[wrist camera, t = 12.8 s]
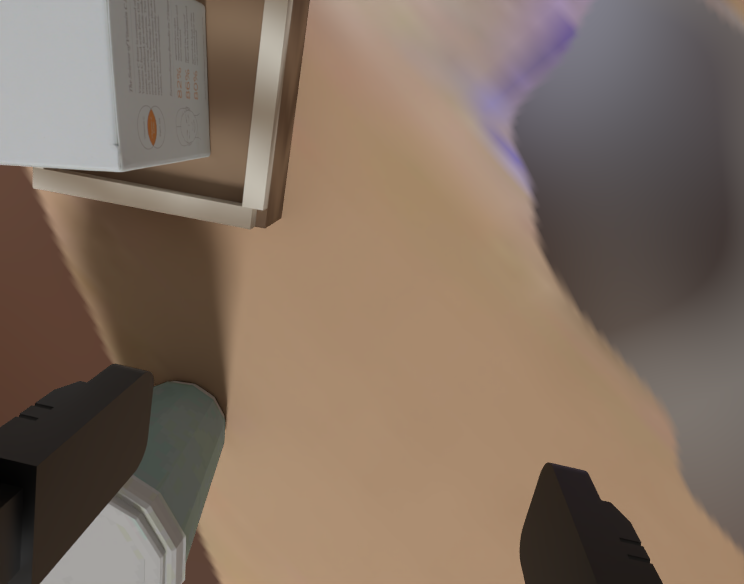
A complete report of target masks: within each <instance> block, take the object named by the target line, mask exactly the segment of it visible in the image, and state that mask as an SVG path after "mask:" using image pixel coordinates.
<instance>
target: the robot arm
mask: <svg viewBox="0 0 744 584" xmlns="http://www.w3.org/2000/svg"><path fill="white" fill-rule="evenodd" d="M153 386H154V378H153V374H152V373H151V372H150V371H145V370H141V369H136V368H132V367H127V366H123V365H119V364H112V365H110V366H109V367H107V368H106V369H105V370H103V371H102V372H101V373H99V374H98V375H97V376H95V377H94V378H93V379H91V380H90V381H89V382H87V383H86V382H82V381H79V382H76V383H73V384H70V385H67V386H64V387H61V388H59V389H55V390H53V391H52V392H50V393H49V394H48V395H46V396H45V397H43V398H42V399H40V400H39V401H38V402H36V403H35V406H30V407H29V408H27V409H26V410H25V411H23V412H22V413H20V415H19V417H15V418H13V419H12V420H10V421H9V422H7V423H6V424H5V425H3V426H2V427H0V584H40V583H41V582H42V581H43V580H44V578H45V577H46V576H47V575H48V574H49V573H50V571H51V570H52V569H53V568H54V567H55V566H56V564H57V563H58V562H59V561H60V560H61V558H62V557H63V556H64V555H65V554H66V553H67V551H68V550H69V549H70V548H71V547H72V546H73V544H74V543H75V542H76V541H77V540H78V538H79V537H80V536H81V535H82V534H83V533H84V531H85V530H86V529H87V528H88V527H89V526H90V524H91V523H92V522H93V521H94V520H95V518H96V517H97V516H98V515H99V514H100V513H101V511H102V510H103V509H104V508H105V507H106V506H107V504H108V503H109V502H110V501H111V500H112V498H113V497H114V496H115V495H116V494H117V493H118V491H119V490H120V489H121V488H122V487H123V486H124V484H125V483H126V482H127V481H128V480H129V478H130V477H131V476H132V475H133V474H134V473H135V471H136V470H137V468H138V467H139V465H140V463H141V461H142V459H143V456H144V453H145V450H146V446H147V441H148V433H149V424H150V414H151V405H152V396H153ZM520 562H521V567H522V571H523V575H524V580H525V584H663V583H662V581H661V579H660V577H659V575H658V573H657V572H656V570H655V568H654V566H653V564H650V558H649V556H648V555H647V553H646V551H645V549H644V547H643V546H641V541H640V539H639V538H638V536H637V534H636V532H635V530H634V528H633V526H632V524H631V522H630V521H629V520H628V519H627V518H626V517H625V516H624V515H623V514H622V513H621V512H620V511H619V510H618V509H617V508H616V507H615V506H614V505H613V504H612V503H611V502H606V501H602V500H601V499H600V497H599V495H598V493H597V491H596V489H595V487H594V485H593V482H592V480H591V478H590V476H589V474H588V473H587V472H586V471H584V470H580V469H576V468H571V467H567V466H562V465H558V464H553V463H546V464H545V465H544V467H543V468H542V471H541V473H540V476H539V479H538V482H537V485H536V489H535V492H534V495H533V498H532V501H531V504H530V507H529V510H528V513H527V516H526V519H525V522H524V526H523V529H522V533H521V540H520Z"/></svg>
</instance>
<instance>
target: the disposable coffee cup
mask: <svg viewBox="0 0 744 584" xmlns="http://www.w3.org/2000/svg"><path fill="white" fill-rule="evenodd" d="M224 437H225V419H224V414H223V412H222V410H221V408H220V406H219V405H218V403H217V401H216V399H215V397H214V396H212V395H211V394H209V393H208V392H206V391H205V390H204V389H202V388H201V387H199V386H198V385H196V384H192V383H186V382H179V381H171V382H165V383H163V384H160V385H157V386H155V387H153V396H152V405H151V414H150V424H149V433H148V441H147V446H146V450H145V453H144V456H143V459H142V461H141V463H140V465H139V467H138V468H137V470H136V471H135V473H134V474H133V475H132V476H131V477H130V478H129V480H128V481H127V482H126V483H125V484H124V486H123V487H122V488H121V489H120V490H119V491H118V493H117V494H116V495H115V496H114V497H113V498H112V500H111V501H110V502H109V503H108V504H107V506H106V507H105V508H104V509H103V510H102V511H101V513H100V514H99V515H98V516H97V517H96V518H95V520H94V521H93V522H92V523H91V524H90V526H89V527H88V528H87V529H86V530H85V531H84V533H83V534H82V535H81V536H80V537H79V538H78V540H77V541H76V542H75V543H74V544H73V546H72V547H71V548H70V549H69V550H68V551H67V553H66V554H65V555H64V556H63V557H62V558H61V560H60V561H59V562H58V563H57V564H56V566H55V567H54V568H53V569H52V570H51V571H50V573H49V574H48V575H47V576H46V577H45V578H44V580H43V581H42V582H41V583H40V584H182V582H183V581H184V580H185V563H186V560H187V557H188V554H189V551H190V548H191V545H192V541H193V538H194V535H195V532H196V529H197V526H198V523H199V520H200V517H201V513H202V510H203V507H204V504H205V501H206V498H207V495H208V492H209V488H210V485H211V482H212V479H213V476H214V473H215V470H216V467H217V464H218V460H219V457H220V454H221V451H222V448H223V445H224Z"/></svg>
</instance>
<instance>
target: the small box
mask: <svg viewBox="0 0 744 584" xmlns="http://www.w3.org/2000/svg"><path fill="white" fill-rule="evenodd" d="M209 156H210V137H209V108H208V79H207V52H206V23H205V6H204V5H203V4H202V3H200V2H198V1H196V0H0V165H14V166H28V167H43V168H58V169H74V170H89V171H108V172H125V171H130V170H136V169H142V168H147V167H153V166H159V165H165V164H171V163H177V162H182V161H187V160H193V159H199V158H204V157H209Z"/></svg>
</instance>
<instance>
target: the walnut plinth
mask: <svg viewBox="0 0 744 584" xmlns="http://www.w3.org/2000/svg"><path fill="white" fill-rule="evenodd" d="M196 1H198V2H200V3H202V4H203V5H204V6H205V23H206V52H207V79H208V108H209V137H210V156H209V157H204V158H199V159H193V160H187V161H182V162H177V163H171V164H165V165H159V166H153V167H147V168H142V169H136V170H130V171H125V172H108V171H89V170H74V169H58V168H43V167H33V188H35V189H41V190H46V191H51V192H56V193H62V194H67V195H72V196H77V197H83V198H88V199H93V200H98V201H104V202H109V203H114V204H119V205H125V206H130V207H135V208H140V209H146V210H151V211H156V212H161V213H167V214H172V215H177V216H182V217H188V218H193V219H198V220H203V221H209V222H214V223H219V224H224V225H230V226H235V227H240V228H245V229H252V228H253V227H260V228H266V227H268V226H270V225H271V224H273V223H274V222H276V221H277V220H279V219H281V216H282V208H283V201H284V193H285V185H286V178H287V170H288V162H289V155H290V147H291V140H292V132H293V124H294V117H295V109H296V101H297V94H298V86H299V78H300V71H301V63H302V55H303V48H304V40H305V32H306V25H307V17H308V9H309V2H310V0H196Z"/></svg>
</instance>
